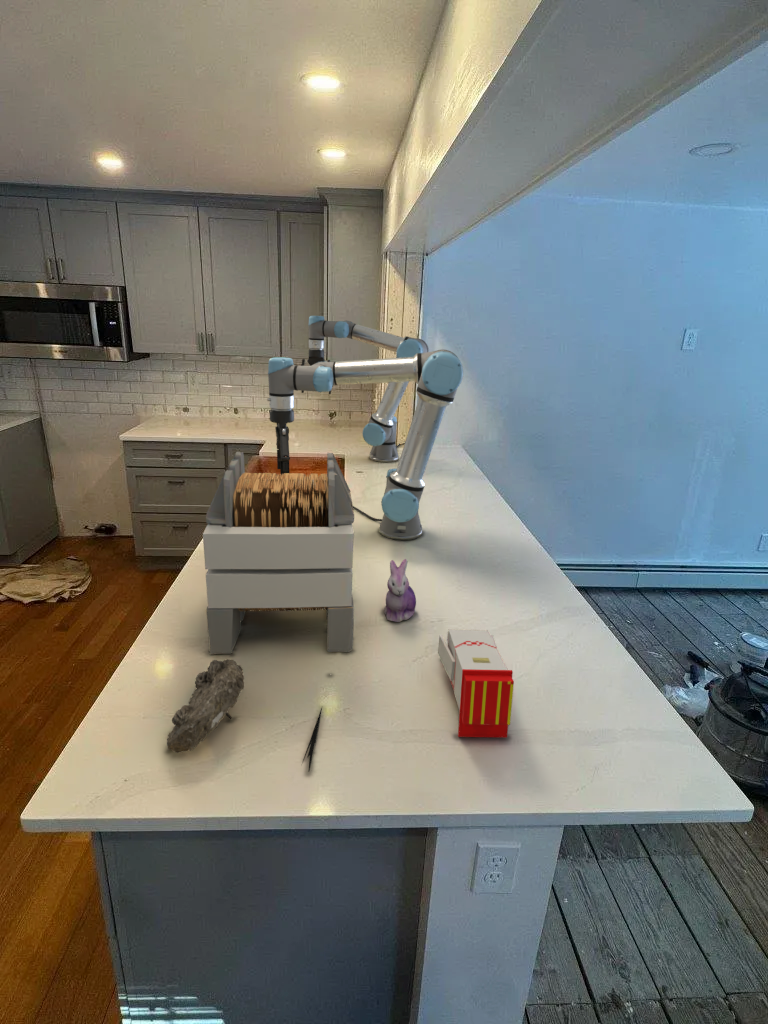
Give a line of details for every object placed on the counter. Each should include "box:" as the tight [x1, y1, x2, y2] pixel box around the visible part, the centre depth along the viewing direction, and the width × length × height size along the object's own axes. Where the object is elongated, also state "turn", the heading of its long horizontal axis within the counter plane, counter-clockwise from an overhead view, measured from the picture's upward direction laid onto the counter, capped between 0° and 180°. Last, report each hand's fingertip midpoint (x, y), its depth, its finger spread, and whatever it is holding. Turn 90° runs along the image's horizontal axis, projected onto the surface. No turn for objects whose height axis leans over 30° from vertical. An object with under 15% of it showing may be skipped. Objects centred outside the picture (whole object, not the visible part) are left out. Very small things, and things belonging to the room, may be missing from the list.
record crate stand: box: [202, 451, 355, 655], centre depth 137 cm, size 34×33×41 cm
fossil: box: [166, 658, 245, 754], centre depth 106 cm, size 22×10×15 cm
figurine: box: [384, 558, 417, 623], centre depth 145 cm, size 9×10×15 cm
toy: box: [437, 628, 515, 738], centre depth 117 cm, size 12×13×30 cm
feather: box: [301, 673, 332, 771], centre depth 108 cm, size 2×28×2 cm
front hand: (283, 474), depth 184 cm, fingers open, 13 cm apart
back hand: (316, 393), depth 284 cm, fingers open, 13 cm apart
